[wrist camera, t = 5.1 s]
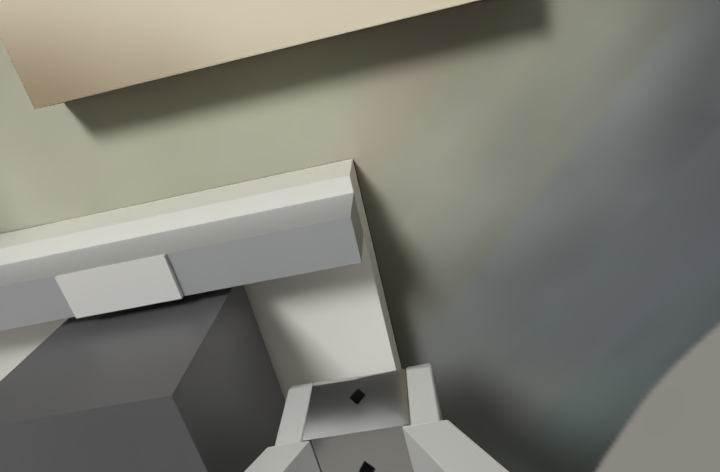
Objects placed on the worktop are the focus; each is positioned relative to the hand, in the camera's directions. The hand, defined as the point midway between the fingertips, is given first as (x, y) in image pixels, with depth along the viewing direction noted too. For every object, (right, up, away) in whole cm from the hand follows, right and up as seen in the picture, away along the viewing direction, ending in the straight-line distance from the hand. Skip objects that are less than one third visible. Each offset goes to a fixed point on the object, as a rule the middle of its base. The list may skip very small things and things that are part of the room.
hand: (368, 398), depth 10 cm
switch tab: (-4, 0, +2) cm, 5 cm away
